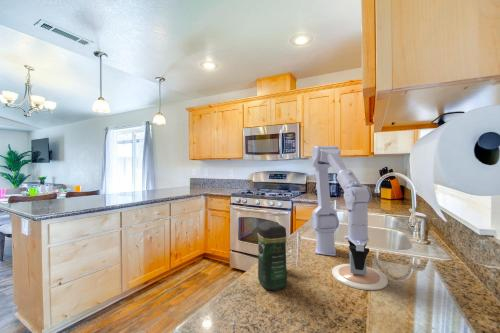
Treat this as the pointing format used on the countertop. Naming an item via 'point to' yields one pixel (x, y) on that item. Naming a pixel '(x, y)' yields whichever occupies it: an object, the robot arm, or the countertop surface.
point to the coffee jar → (272, 255)
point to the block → (353, 270)
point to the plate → (360, 278)
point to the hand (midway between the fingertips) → (358, 266)
